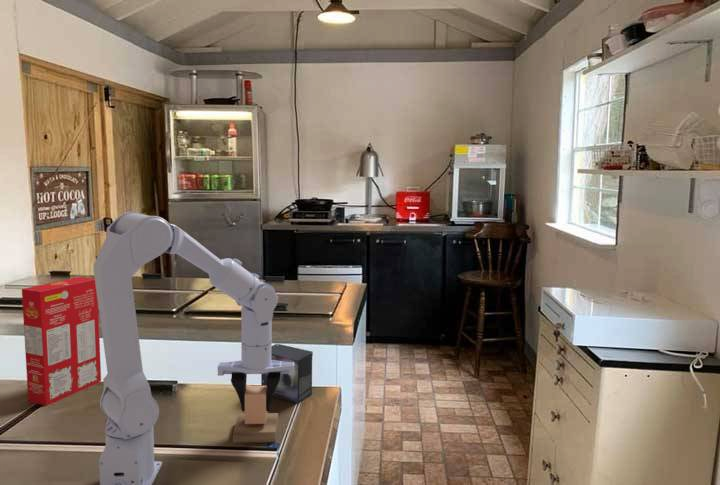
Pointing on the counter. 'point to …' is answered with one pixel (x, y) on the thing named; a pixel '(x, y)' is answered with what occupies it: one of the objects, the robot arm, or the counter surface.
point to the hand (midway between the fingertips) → (256, 409)
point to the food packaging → (61, 338)
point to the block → (255, 405)
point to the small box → (301, 381)
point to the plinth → (255, 430)
